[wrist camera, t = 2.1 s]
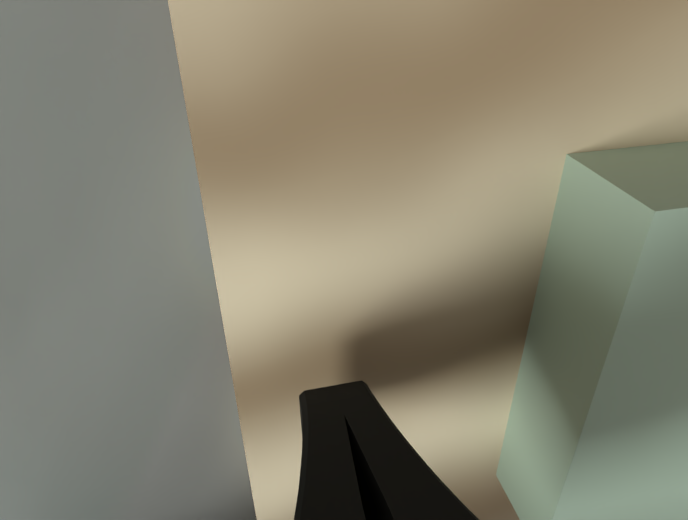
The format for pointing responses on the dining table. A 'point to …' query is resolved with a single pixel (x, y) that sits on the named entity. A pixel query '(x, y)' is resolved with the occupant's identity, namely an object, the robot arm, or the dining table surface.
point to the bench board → (403, 199)
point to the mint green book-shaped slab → (607, 347)
